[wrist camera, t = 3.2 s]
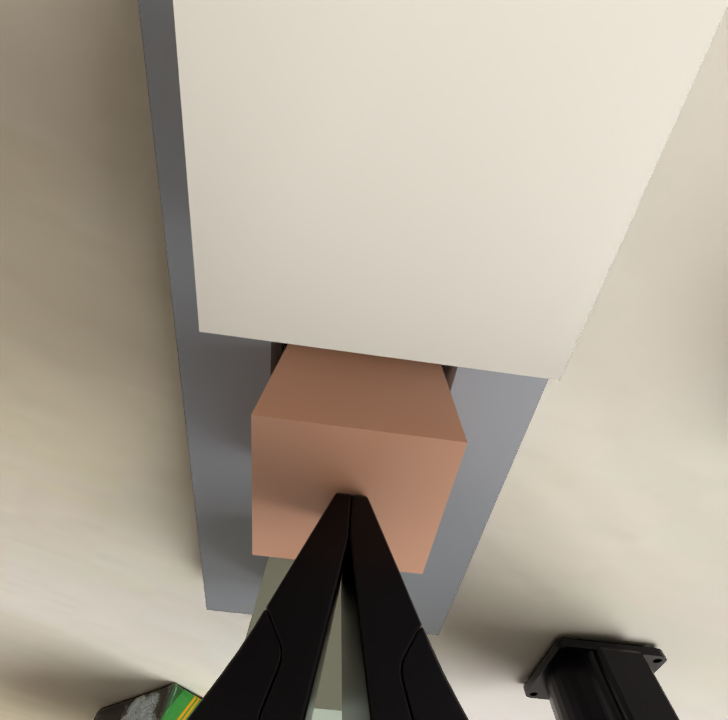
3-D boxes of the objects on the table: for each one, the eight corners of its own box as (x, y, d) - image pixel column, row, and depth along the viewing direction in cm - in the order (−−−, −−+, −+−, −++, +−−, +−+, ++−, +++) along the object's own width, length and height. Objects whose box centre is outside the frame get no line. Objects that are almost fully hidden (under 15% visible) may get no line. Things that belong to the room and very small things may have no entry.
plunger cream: (473, 283, 10) (560, 380, 5) (283, 256, 9) (199, 331, 5) (543, 37, 7) (809, -177, 3) (292, -5, 7) (149, -306, 3)
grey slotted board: (434, 602, 20) (438, 634, 19) (218, 578, 20) (206, 609, 18) (684, -41, 8) (746, -83, 7) (161, -135, 8) (115, -200, 7)
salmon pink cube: (408, 456, 15) (422, 573, 11) (289, 441, 15) (252, 554, 11) (436, 349, 13) (467, 442, 8) (295, 329, 13) (250, 414, 8)
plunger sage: (379, 620, 17) (380, 780, 12) (271, 608, 17) (233, 766, 12) (398, 551, 15) (408, 717, 10) (274, 536, 14) (228, 699, 10)
